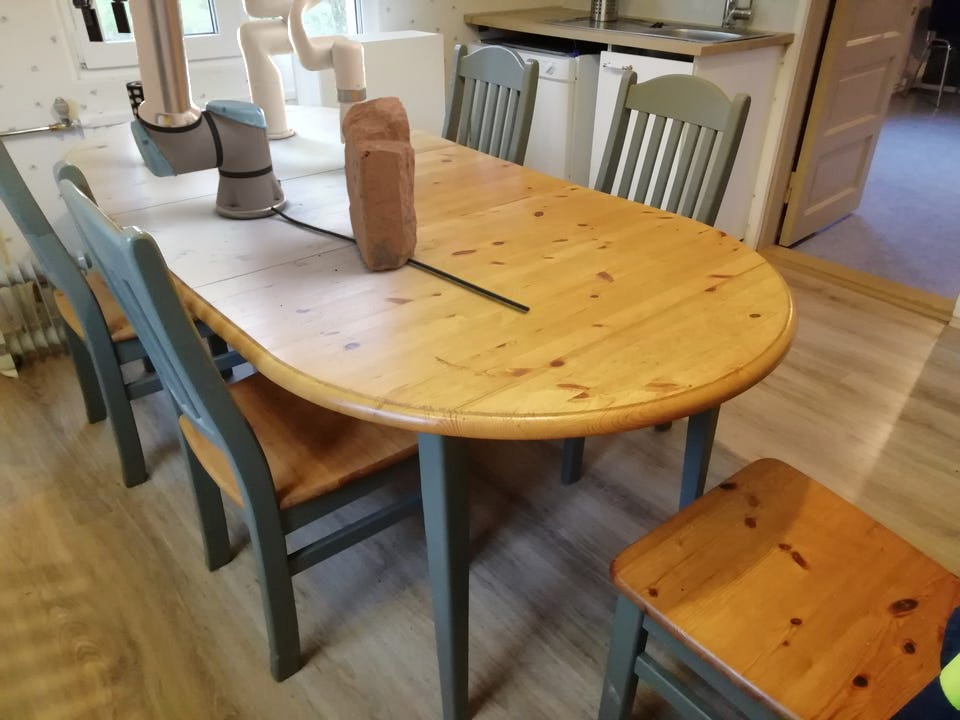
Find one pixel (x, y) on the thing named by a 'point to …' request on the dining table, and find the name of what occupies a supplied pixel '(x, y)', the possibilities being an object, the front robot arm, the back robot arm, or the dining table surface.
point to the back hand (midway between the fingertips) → (356, 166)
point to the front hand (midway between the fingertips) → (111, 37)
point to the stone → (381, 181)
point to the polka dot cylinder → (135, 96)
